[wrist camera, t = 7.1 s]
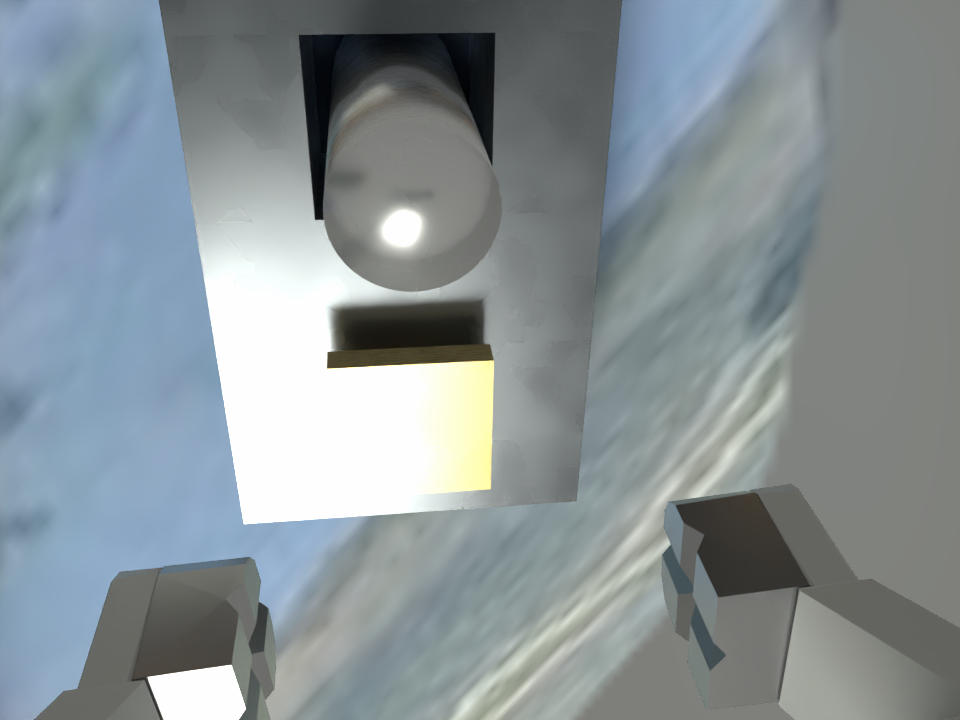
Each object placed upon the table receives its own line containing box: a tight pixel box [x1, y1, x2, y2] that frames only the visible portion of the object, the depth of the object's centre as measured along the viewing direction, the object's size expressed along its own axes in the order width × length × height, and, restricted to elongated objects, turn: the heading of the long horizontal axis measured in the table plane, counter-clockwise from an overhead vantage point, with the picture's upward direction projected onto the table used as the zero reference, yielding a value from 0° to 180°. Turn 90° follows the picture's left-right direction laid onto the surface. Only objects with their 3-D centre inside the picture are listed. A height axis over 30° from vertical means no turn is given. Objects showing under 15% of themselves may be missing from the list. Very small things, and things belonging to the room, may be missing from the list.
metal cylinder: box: [323, 33, 502, 292], centre depth 25 cm, size 4×4×12 cm
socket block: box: [159, 0, 622, 524], centre depth 30 cm, size 20×12×6 cm, turn 0°
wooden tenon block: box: [327, 344, 494, 499], centre depth 31 cm, size 5×5×8 cm
